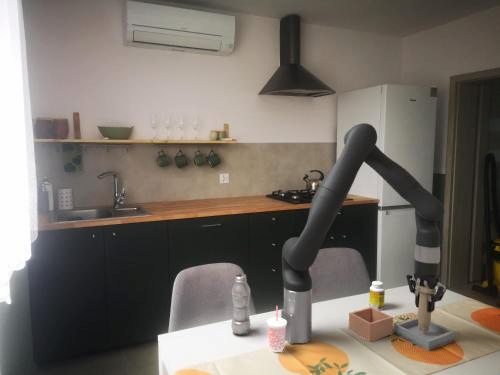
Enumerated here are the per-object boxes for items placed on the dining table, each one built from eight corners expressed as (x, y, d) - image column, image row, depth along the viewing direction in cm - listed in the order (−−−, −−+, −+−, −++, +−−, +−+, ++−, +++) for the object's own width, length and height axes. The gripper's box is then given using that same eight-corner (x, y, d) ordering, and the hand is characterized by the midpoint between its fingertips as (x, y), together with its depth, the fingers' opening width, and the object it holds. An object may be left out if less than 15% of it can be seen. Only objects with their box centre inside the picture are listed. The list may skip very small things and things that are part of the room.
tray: (428, 351, 114) (428, 341, 114) (394, 333, 125) (394, 324, 125) (454, 340, 120) (455, 332, 120) (419, 324, 132) (419, 316, 131)
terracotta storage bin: (369, 342, 120) (370, 324, 119) (348, 329, 128) (349, 312, 128) (392, 334, 125) (393, 317, 124) (370, 322, 133) (371, 306, 132)
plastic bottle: (227, 334, 125) (227, 277, 123) (237, 326, 131) (237, 271, 129) (244, 338, 122) (244, 280, 120) (254, 330, 128) (253, 274, 126)
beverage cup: (274, 342, 120) (274, 300, 119) (290, 348, 116) (290, 305, 115) (263, 349, 115) (263, 306, 114) (279, 356, 111) (279, 312, 110)
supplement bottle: (379, 312, 142) (380, 286, 141) (366, 307, 146) (367, 282, 145) (386, 307, 146) (387, 282, 145) (373, 303, 150) (374, 279, 149)
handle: (423, 324, 126) (425, 282, 125) (436, 333, 120) (439, 289, 119) (410, 326, 125) (412, 283, 124) (423, 335, 119) (426, 290, 118)
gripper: (400, 254, 125) (399, 303, 126) (439, 266, 112) (436, 320, 114) (415, 252, 128) (413, 299, 130) (454, 262, 116) (452, 315, 117)
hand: (424, 309), depth 122 cm, fingers closed on handle, 3 cm apart
